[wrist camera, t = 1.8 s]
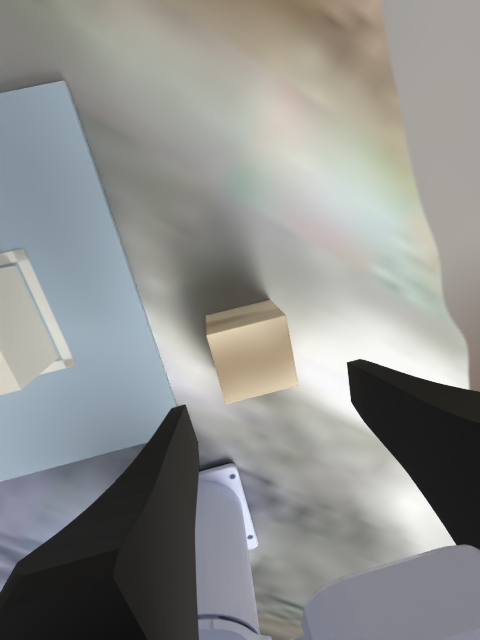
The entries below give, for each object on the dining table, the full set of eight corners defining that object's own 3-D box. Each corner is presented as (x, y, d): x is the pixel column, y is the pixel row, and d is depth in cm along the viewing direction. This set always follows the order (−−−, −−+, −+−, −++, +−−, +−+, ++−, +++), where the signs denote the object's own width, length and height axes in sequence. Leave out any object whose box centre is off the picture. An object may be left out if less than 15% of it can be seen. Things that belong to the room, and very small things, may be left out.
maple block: (280, 357, 21) (298, 385, 17) (221, 372, 21) (225, 404, 17) (269, 299, 19) (286, 315, 16) (205, 315, 19) (206, 335, 15)
